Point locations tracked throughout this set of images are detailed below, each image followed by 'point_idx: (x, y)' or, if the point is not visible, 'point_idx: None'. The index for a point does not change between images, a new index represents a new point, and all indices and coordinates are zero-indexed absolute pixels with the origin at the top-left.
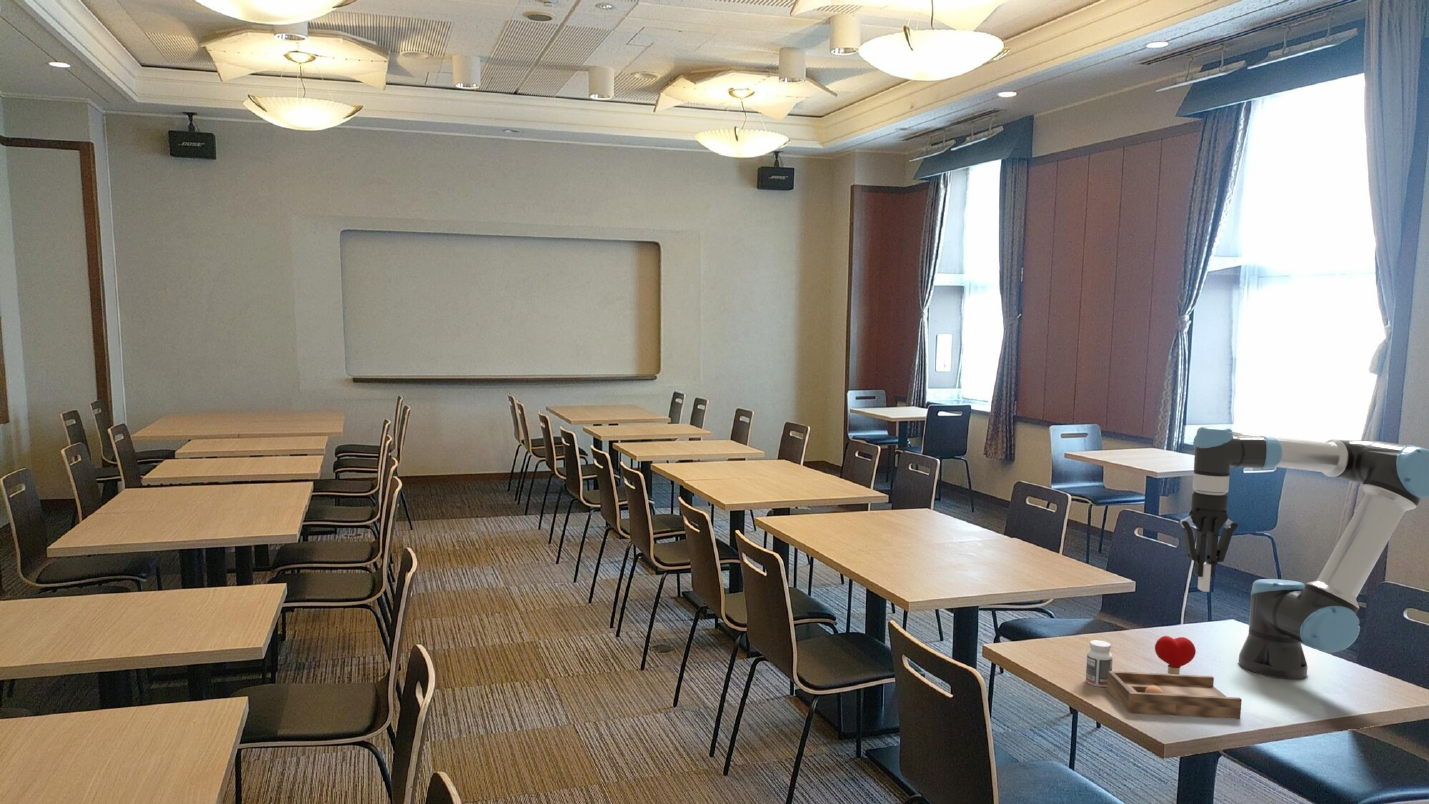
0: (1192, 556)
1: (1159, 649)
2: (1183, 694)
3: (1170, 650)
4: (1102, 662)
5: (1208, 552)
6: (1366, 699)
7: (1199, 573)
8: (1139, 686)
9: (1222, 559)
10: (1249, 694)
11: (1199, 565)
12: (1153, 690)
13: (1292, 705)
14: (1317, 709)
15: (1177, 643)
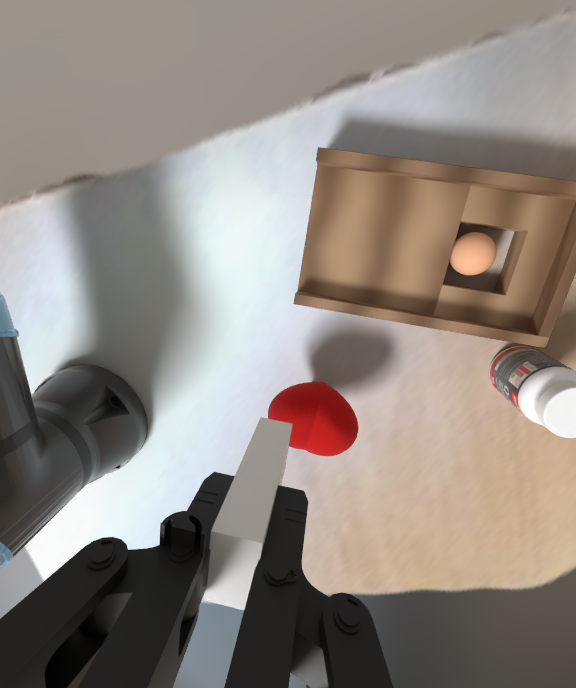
0: (372, 645)
1: (356, 420)
2: (406, 240)
3: (340, 403)
4: (563, 366)
5: (165, 680)
6: (3, 265)
7: (295, 505)
8: (484, 293)
9: (93, 552)
10: (214, 296)
11: (291, 555)
12: (490, 242)
13: (160, 237)
14: (121, 215)
15: (316, 416)
